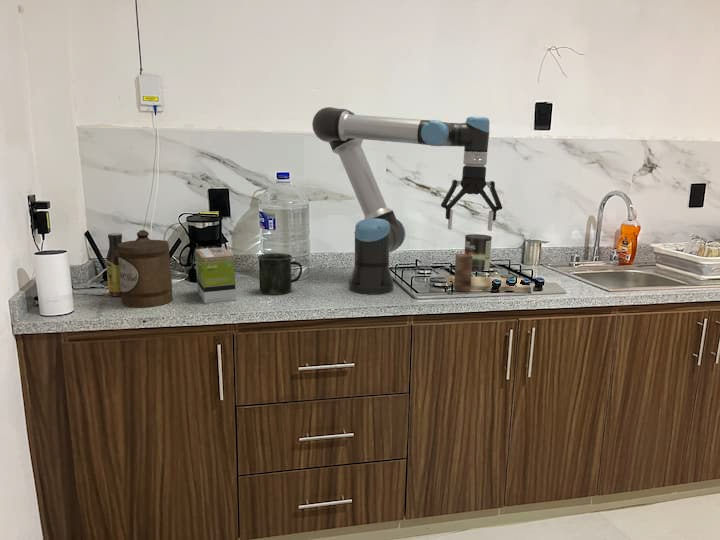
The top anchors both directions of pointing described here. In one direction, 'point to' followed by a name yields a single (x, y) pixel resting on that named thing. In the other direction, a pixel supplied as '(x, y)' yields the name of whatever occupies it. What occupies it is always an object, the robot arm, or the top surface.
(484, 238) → the coffee can
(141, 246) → the wooden container
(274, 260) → the mug
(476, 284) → the birch board
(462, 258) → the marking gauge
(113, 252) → the sauce bottle
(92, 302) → the top surface
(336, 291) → the top surface
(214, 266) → the tea box
